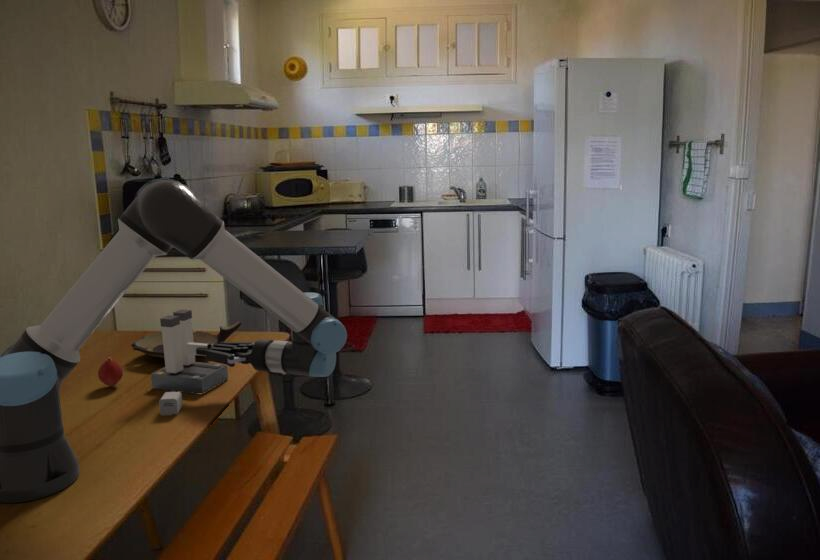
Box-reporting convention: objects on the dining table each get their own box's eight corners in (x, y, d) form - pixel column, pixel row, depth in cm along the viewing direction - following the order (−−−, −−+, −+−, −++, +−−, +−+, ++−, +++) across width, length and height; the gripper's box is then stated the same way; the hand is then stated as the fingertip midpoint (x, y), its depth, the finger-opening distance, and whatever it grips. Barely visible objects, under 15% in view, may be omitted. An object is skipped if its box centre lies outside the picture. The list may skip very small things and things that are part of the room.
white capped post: (188, 365, 174) (183, 313, 171) (177, 364, 175) (173, 312, 172) (195, 361, 177) (191, 310, 174) (185, 360, 178) (181, 309, 175)
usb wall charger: (160, 415, 154) (158, 399, 153) (167, 404, 160) (166, 388, 160) (178, 414, 154) (176, 398, 153) (185, 403, 161) (183, 387, 160)
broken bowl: (144, 347, 206) (142, 322, 204) (244, 341, 210) (243, 317, 208) (124, 371, 184) (121, 344, 183) (236, 364, 188) (234, 338, 186)
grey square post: (175, 373, 168) (170, 319, 165) (165, 372, 169) (160, 318, 166) (184, 369, 171) (179, 316, 168) (173, 368, 172) (168, 315, 169)
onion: (94, 388, 171) (91, 358, 169) (113, 381, 176) (110, 352, 174) (110, 392, 168) (106, 362, 167) (129, 384, 173) (125, 355, 172)
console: (202, 394, 166) (201, 379, 165) (152, 388, 171) (150, 373, 170) (228, 379, 176) (226, 364, 175) (180, 374, 181) (178, 359, 180)
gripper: (259, 380, 155) (173, 371, 162) (286, 362, 167) (205, 354, 174) (257, 349, 153) (170, 341, 161) (284, 333, 166) (203, 326, 173)
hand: (188, 348), depth 168 cm, fingers closed
